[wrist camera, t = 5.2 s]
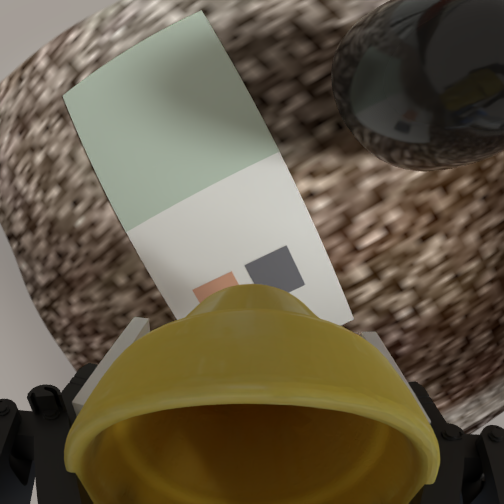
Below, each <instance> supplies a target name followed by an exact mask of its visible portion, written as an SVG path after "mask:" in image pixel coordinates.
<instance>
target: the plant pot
mask: <svg viewBox="0 0 504 504" xmlns="http://www.w3.org/2000/svg"><path fill="white" fill-rule="evenodd" d="M64 462H65V467H66V470H67V471H68V472H72V473H76V475H77V476H78V478H79V479H80V481H81V483H82V484H83V486H84V488H85V489H86V491H87V493H88V494H89V496H90V498H91V500H92V501H93V503H94V504H409V502H410V501H411V500H412V499H413V497H414V496H415V495H416V494H417V493H418V492H419V490H420V489H421V488H422V487H423V486H424V484H433V483H434V482H435V480H436V477H437V474H438V470H439V465H440V450H439V444H438V441H437V438H436V436H435V434H434V431H433V429H432V427H431V425H430V423H429V422H428V420H427V418H426V416H425V415H424V413H423V411H422V410H421V408H420V406H419V405H418V403H417V401H416V400H415V398H414V396H413V395H412V393H411V392H410V390H409V388H408V387H407V385H406V384H405V383H404V381H403V380H402V379H401V377H400V376H399V374H398V373H397V372H396V370H395V369H394V368H393V366H392V365H391V364H390V362H389V361H388V360H387V358H386V357H385V356H384V355H383V354H382V353H381V352H380V351H379V350H378V349H377V348H376V347H374V346H373V345H372V344H371V343H369V342H368V341H367V340H365V339H364V338H362V337H361V336H359V335H357V334H355V333H353V332H352V331H350V330H348V329H346V328H344V327H342V326H339V325H337V324H334V323H332V322H329V321H326V320H323V319H320V318H319V317H317V316H316V315H315V314H314V313H313V312H312V311H311V310H310V309H309V308H308V307H307V306H306V305H305V304H304V303H303V302H302V301H300V300H299V299H298V298H296V297H295V296H293V295H291V294H290V293H288V292H286V291H284V290H281V289H279V288H276V287H272V286H268V285H262V284H242V285H235V286H231V287H227V288H224V289H222V290H219V291H217V292H215V293H213V294H211V295H210V296H208V297H207V298H205V299H204V300H203V301H202V302H201V303H200V304H199V305H198V306H197V307H195V308H194V309H193V310H192V311H191V312H190V313H189V314H188V315H187V316H186V317H185V318H182V319H179V320H176V321H173V322H170V323H167V324H165V325H163V326H161V327H159V328H157V329H154V330H152V331H151V332H149V333H147V334H146V335H144V336H143V337H141V338H139V339H138V340H136V341H135V342H134V343H132V344H131V345H130V346H129V347H128V348H126V349H125V350H124V351H123V352H122V353H121V354H120V356H119V357H118V358H117V359H116V360H115V361H114V362H113V363H112V365H111V366H110V367H109V369H108V370H107V371H106V373H105V374H104V375H103V377H102V378H101V380H100V381H99V382H98V384H97V385H96V387H95V388H94V390H93V391H92V393H91V394H90V396H89V398H88V399H87V401H86V402H85V404H84V406H83V407H82V409H81V411H80V412H79V414H78V416H77V418H76V419H75V421H74V423H73V425H72V427H71V429H70V431H69V433H68V436H67V439H66V443H65V449H64Z"/></svg>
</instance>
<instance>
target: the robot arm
mask: <svg viewBox="0 0 504 504" xmlns="http://www.w3.org/2000/svg"><path fill="white" fill-rule="evenodd" d="M149 332H150V326H149V318H141V317H134V318H133V319H132V320H131V322H130V323H129V324H128V326H127V327H126V328H125V330H124V331H123V332H122V334H121V335H120V336H119V338H118V339H117V340H116V342H115V343H114V344H113V346H112V347H111V348H110V350H109V351H108V352H107V354H106V355H105V356H104V358H103V359H102V361H101V362H100V363H99V365H96V364H91V363H88V364H87V365H85V366H83V367H82V368H80V369H79V370H78V372H77V373H76V374H75V376H74V377H73V378H72V379H71V381H70V383H68V385H67V386H66V387H65V388H64V390H63V391H62V393H61V392H60V390H59V389H58V388H57V387H55V386H52V385H40V386H37V387H35V388H33V389H32V390H31V391H30V392H29V393H28V396H27V399H28V401H29V404H30V406H31V409H32V411H21V410H18V408H17V406H16V404H15V403H14V402H13V401H12V400H9V399H0V504H30V501H31V495H32V490H33V485H34V480H35V478H36V489H37V499H38V504H94V503H93V501H92V500H91V498H90V496H89V494H88V493H87V491H86V489H85V488H84V486H83V484H82V483H81V481H80V479H79V478H78V476H77V475H76V473H72V472H68V471H67V470H66V467H65V462H64V449H65V443H66V439H67V436H68V433H69V431H70V429H71V427H72V425H73V423H74V421H75V419H76V418H77V416H78V414H79V412H80V411H81V409H82V407H83V406H84V404H85V402H86V401H87V399H88V398H89V396H90V394H91V393H92V391H93V390H94V388H95V387H96V385H97V384H98V382H99V381H100V380H101V378H102V377H103V375H104V374H105V373H106V371H107V370H108V369H109V367H110V366H111V365H112V363H113V362H114V361H115V360H116V359H117V358H118V357H119V356H120V354H121V353H122V352H123V351H124V350H125V349H126V348H128V347H129V346H130V345H131V344H132V343H134V342H135V341H136V340H138V339H139V338H141V337H143V336H144V335H146V334H147V333H149ZM361 337H362V338H364V339H365V340H367V341H368V342H369V343H371V344H372V345H373V346H374V347H376V348H377V349H378V350H379V351H380V352H381V353H382V354H383V355H384V356H385V357H386V358H387V360H388V361H389V362H390V364H391V365H392V366H393V368H394V369H395V370H396V372H397V373H398V374H399V376H400V377H401V379H402V380H403V381H404V383H405V384H406V385H407V387H408V388H409V390H410V392H411V393H412V395H413V396H414V398H415V400H416V401H417V403H418V405H419V406H420V408H421V410H422V411H423V413H424V415H425V416H426V418H427V420H428V422H429V423H430V425H431V427H432V429H433V431H434V434H435V436H436V438H437V441H438V444H439V450H440V465H439V470H438V474H437V477H436V480H435V482H434V483H433V484H424V486H423V487H422V488H421V489H420V490H419V492H418V493H417V494H416V495H415V496H414V497H413V499H412V500H411V501H410V502H409V504H504V429H503V428H501V427H499V426H496V425H489V426H486V427H485V428H484V429H483V430H482V432H481V434H480V435H472V434H465V433H464V432H463V430H462V429H461V428H459V427H458V426H456V425H454V424H449V423H446V421H445V420H444V418H443V416H442V415H441V413H440V412H439V410H438V409H437V407H436V405H435V404H434V403H433V401H432V399H431V398H430V397H429V394H428V393H427V391H426V390H425V388H424V387H422V386H421V385H420V384H418V383H417V382H407V380H406V379H405V377H404V375H403V374H402V372H401V371H400V369H399V367H398V366H397V364H396V363H395V361H394V359H393V358H392V356H391V355H390V353H389V351H388V350H387V348H386V347H385V345H384V344H383V342H382V341H381V339H380V337H379V336H378V334H377V333H376V332H361Z"/></svg>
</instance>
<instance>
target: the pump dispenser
mask: <svg viewBox="0 0 504 504" xmlns="http://www.w3.org/2000/svg"><path fill="white" fill-rule="evenodd" d="M331 78H332V88H333V94H334V98H335V101H336V104H337V107H338V110H339V112H340V114H341V116H342V118H343V120H344V122H345V124H346V125H347V127H348V128H349V130H350V131H351V133H352V134H353V135H354V137H355V138H356V139H357V140H358V141H359V142H360V143H361V144H362V145H363V146H364V147H365V148H366V149H367V150H368V151H369V152H371V153H372V154H373V155H375V156H376V157H378V158H379V159H381V160H382V161H384V162H386V163H388V164H390V165H393V166H395V167H398V168H402V169H406V170H412V171H439V170H446V169H452V168H457V167H462V166H466V165H469V164H473V163H476V162H479V161H482V160H484V159H487V158H489V157H492V156H494V155H496V154H498V153H500V152H502V151H504V0H390V1H388V2H386V3H384V4H382V5H381V6H379V7H378V8H376V9H374V10H373V11H371V12H370V13H369V14H367V15H366V16H364V17H363V18H362V19H360V20H359V21H358V22H357V23H356V24H355V25H354V26H353V27H352V28H351V29H350V30H349V31H348V32H347V33H346V35H345V36H344V37H343V39H342V40H341V42H340V44H339V45H338V47H337V50H336V52H335V55H334V59H333V64H332V77H331Z"/></svg>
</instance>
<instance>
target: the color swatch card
mask: <svg viewBox="0 0 504 504" xmlns="http://www.w3.org/2000/svg"><path fill="white" fill-rule="evenodd" d="M63 98H64V101H65V103H66V106H67V108H68V111H69V113H70V116H71V118H72V121H73V123H74V125H75V128H76V130H77V132H78V135H79V137H80V139H81V142H82V144H83V146H84V148H85V151H86V153H87V155H88V157H89V159H90V162H91V164H92V166H93V168H94V170H95V172H96V174H97V176H98V178H99V181H100V183H101V185H102V187H103V189H104V191H105V193H106V195H107V197H108V199H109V201H110V203H111V205H112V207H113V209H114V211H115V213H116V215H117V216H118V218H119V220H120V222H121V224H122V226H123V228H124V230H125V232H126V233H127V235H128V237H129V238H130V240H131V242H132V244H133V246H134V248H135V249H136V251H137V253H138V255H139V257H140V258H141V260H142V262H143V264H144V265H145V267H146V269H147V271H148V272H149V274H150V276H151V277H152V279H153V281H154V283H155V284H156V286H157V288H158V289H159V291H160V293H161V294H162V296H163V298H164V299H165V301H166V303H167V304H168V306H169V307H170V309H171V311H172V312H173V314H174V316H175V317H176V319H177V320H179V319H182V318H185V317H186V316H187V315H188V314H189V313H190V312H191V311H192V310H193V309H194V308H195V307H197V306H198V305H199V304H200V303H201V302H202V301H203V300H204V299H205V298H207V297H208V296H210V295H211V294H213V293H215V292H217V291H219V290H222V289H224V288H227V287H231V286H235V285H242V284H262V285H268V286H272V287H276V288H279V289H281V290H284V291H286V292H288V293H290V294H291V295H293V296H295V297H296V298H298V299H299V300H300V301H302V302H303V303H304V304H305V305H306V306H307V307H308V308H309V309H310V310H311V311H312V312H313V313H314V314H315V315H316V316H317V317H319V318H320V319H323V320H326V321H329V322H332V323H334V324H337V325H339V326H341V325H343V324H345V323H347V322H349V321H351V320H353V319H354V318H353V315H352V313H351V310H350V308H349V305H348V303H347V300H346V298H345V295H344V293H343V291H342V288H341V286H340V283H339V281H338V278H337V276H336V274H335V271H334V269H333V267H332V264H331V262H330V260H329V257H328V255H327V253H326V250H325V248H324V246H323V243H322V241H321V239H320V237H319V234H318V232H317V230H316V228H315V225H314V223H313V221H312V219H311V217H310V214H309V212H308V210H307V208H306V206H305V204H304V201H303V199H302V197H301V195H300V193H299V191H298V189H297V187H296V184H295V182H294V180H293V178H292V176H291V174H290V172H289V170H288V168H287V166H286V164H285V162H284V160H283V158H282V156H281V154H280V152H279V150H278V148H277V146H276V144H275V142H274V140H273V138H272V136H271V134H270V132H269V130H268V128H267V126H266V124H265V122H264V120H263V118H262V116H261V114H260V112H259V111H258V109H257V107H256V105H255V103H254V101H253V99H252V97H251V96H250V94H249V92H248V90H247V88H246V86H245V85H244V83H243V81H242V79H241V77H240V76H239V74H238V72H237V70H236V68H235V67H234V65H233V63H232V61H231V60H230V58H229V56H228V54H227V53H226V51H225V49H224V47H223V46H222V44H221V42H220V40H219V39H218V37H217V35H216V34H215V32H214V30H213V29H212V27H211V25H210V24H209V22H208V20H207V19H206V17H205V15H204V14H203V12H202V11H199V12H197V13H195V14H193V15H191V16H188V17H186V18H184V19H182V20H180V21H178V22H176V23H174V24H172V25H170V26H169V27H167V28H165V29H163V30H161V31H159V32H157V33H156V34H154V35H152V36H150V37H148V38H147V39H145V40H143V41H141V42H140V43H138V44H136V45H135V46H133V47H131V48H130V49H128V50H127V51H125V52H123V53H122V54H120V55H119V56H117V57H116V58H114V59H112V60H111V61H109V62H108V63H106V64H105V65H104V66H102V67H101V68H99V69H98V70H96V71H95V72H93V73H92V74H91V75H89V76H88V77H87V78H85V79H84V80H82V81H81V82H80V83H78V84H77V85H76V86H74V87H73V88H72V89H71V90H69V91H68V92H67V93H65V94H64V95H63Z"/></svg>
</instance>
